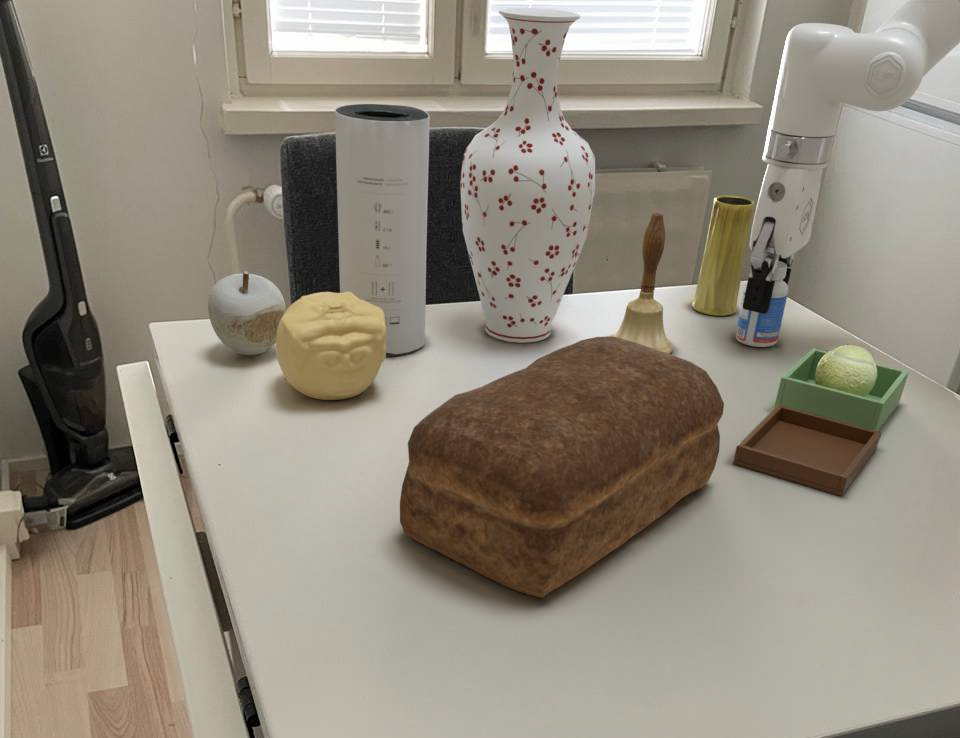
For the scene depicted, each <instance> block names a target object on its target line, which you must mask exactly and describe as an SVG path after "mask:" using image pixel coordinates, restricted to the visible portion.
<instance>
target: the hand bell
mask: <svg viewBox="0 0 960 738" xmlns="http://www.w3.org/2000/svg"><path fill="white" fill-rule="evenodd" d="M665 228H666V227H665V220H664V213H663V212H658V211H657V212H652V213H651V216H650V219H649V221H648V224H647V225H646V228H645V231H644V234H643V238H642V239H643V240H642V245H641V247H642V249H641V250H642V253H641V255H642V261H643V273H642V276H641V277H642V278H641V284H640V287H639V290H640V291H639V296H638V297H637V298H635V299H632V300H629V302H628V303H627V305H626V309H625V312H624V316H623V319H622V322H621V324H620V325H619V327H618V329H617V330H616V332H615V333H614V334H612V335H611V336H614V337H617V338H621V339H624V340H628V341H631V342H635V343H638V344H641V345H644V346H647V347H650V348H653V349H655V350H658V351H661V352H665V353H668V354H672V353H673V351H674V346H673V344H672V341H671V340H670V339H669V338H668V336H667V333H666V331H665V326H664V306H663V304H662V303H661V302H659V301H658V300H656V299H655V298H654V295H655V289H656V286H655V285H656V277H657V271H658V266H659V264H660V261H661V259H662V256H663V253H664V250H665V243H666V229H665Z"/></svg>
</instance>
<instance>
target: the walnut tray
mask: <svg viewBox="0 0 960 738" xmlns="http://www.w3.org/2000/svg"><path fill="white" fill-rule="evenodd" d="M774 407H775V406H774ZM774 407H773V409H772V410H771V411H770V412H769V414H768V415H766V416H765V417H764V418H763V419H762V420H761V421H760V422H759V423H758V424H757V425H756V426H755V427H754V428H753V429H752V430H751V431H750V432H749V433H748V434H747V435H746V436H745V437H744V438H743V439H742V440H741V441H740V442H739V443H738V444H737V445H736V448H735V453H734V456H733V461H732V464H733V465H737V466H739V467H743V468H747V469H750V470H753V471H757V472H760V473H764V474H767V475H769V476H773V477H777V478H779V479H783V480H786V481H790V482H794V483H796V484H800V485H803V486H807V487H810V488H813V489H816V490H820V491H823V492H826V493H830V494H833V495H837V496H840V497H843V496H844V494H845V493H846V491H847V490H848V489H849V487H850V486H851V484H852V483H853V482H854V480H855V479H856V478H857V476H858V475H859V473H860V472H861V471H862V469H863V468H864V467H865V465H866V464H867V462H868V461H869V460H870V459H871V457H872V456H873V454H874V453H875V452H876V450H877V448H878V445H879V442H880V440H881V436H882V431H880V430H879V431H875V430H872V429H868V428H864V427H861V426H857V425H853V424H849V423H846V422H842V421H838V420H835V419H831V418H827V417H823V416H820V415H816V414H812V413H809V412H805V411H801V410H797V409H794V408H790V407H786V406H783V405H777V406H776V407H775V408H774Z"/></svg>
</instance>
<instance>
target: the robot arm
mask: <svg viewBox="0 0 960 738" xmlns="http://www.w3.org/2000/svg"><path fill="white" fill-rule="evenodd" d="M784 43H785V44H784V48H783V53H782V57H781V63H780V68H779V73H778V78H777V83H776V88H775V92H774V99H773V103H772V107H771V113H770V117H769V123H768V128H767V132H766V138H765V144H764V148H763V153H762V157H761V159H762V161H763V162H765V163H767V165H766V170H765V173H764V176H763V181H762V183H761V188H760V192H759V196H758V199H757V204H756V208H755V212H754V216H753V221H752V224H751V225H752V226H751V230H750V237H749V249H750V250H751V254H750V268H749V271H748V278H747V281H748V283H747V287H746V292H745V297H744V302H743V308H744V309H745V310H750V311H754V312H758V313H763V314H765V313H767V312H768V310H769V306H770V302H771V297H772V293H773V288H774V284H775V281H773V280H772V279H773V276H774V273H775V270H776V266H777V263H778V261H781V262H784V263H786V264H787V271H786V275H785V278H784V279H783V281H784V282H785V283H786V284H787V285H788V286H789V282H790V278H791V274H792V273H791V272H792V267H793V265H794V261H795V254H796V253H797V252H798V251H800V250H801V249H802V248H804V247H806V246H807V244H808V243H809V241H810V239H811V236H812V230H813V226H814V220H815V215H816V210H817V206H818V200H819V194H820V189H821V184H822V183H821V182H822V178H823V177H822V175H823V169H825V168H827V167H828V166H829V161H830V157H831V152H832V148H833V144H834V140H835V136H836V131H837V127H838V124H839V123H838V122H839V120H840V115H841V110H842V107H843V104H846V105H848V106H853V107H856V108H860V109H863V110H867V111H872V112H887V111H892V110H894V109H897V108H899V107H901V106H902V105H904V104H905V103H906V102H907V101H909V100H910V99H911V98H912V97H913V96H914V95H915V94H916V91H917V90H918V88H919V87H920V86H921V85H920V84H921V83H922V80H923V78H924V77H925V76H926V75H927V74H928V73H929V72H930V71H931V70H932V69H933V68H935V66H936V65H938V63H939V62H940V61H942V60H943V59H944V58H945V57H946V56H947V55H948V54H949V53H950V52H952V50H954V49H955V48H956V47H957V46H958V45H959V44H960V0H905V1H904V3H903V4H901V5H900V6H899V7H898V8H897V9H896V10H895V11H894V12H893V13H892V14H891V15H890V16H889V17H888V18H887V19H886V20H885V21H884V22H883V23H882V24H881V25H880V26H879V27H878V28H877V29H876V30H875V31H874V32H855V31H854V30H853V29H852V28H851V27H847V26H845V25H842V24H841V25H840V24H833V23H822V22H804V23H799V24H796V25H795V26H793V27H792V28H791V29H790V31H788V34H787V36H786V39H785V42H784ZM769 248H770V252H769V251H768V249H769ZM765 259H770V260H771V263H770V266H769V264H768V261H765Z"/></svg>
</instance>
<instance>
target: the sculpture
mask: <svg viewBox="0 0 960 738" xmlns="http://www.w3.org/2000/svg"><path fill="white" fill-rule="evenodd" d="M385 344H386V325H385V316H384V312H383V310H382V309H381V308H380V307H377V306H375V305H373V304H370V303H368V302H366V301H364V300H361V299H359V298H358V297H356V296H355V295H354V294H353V293H352V292H349V291H347V292H344V293H340V292H334V291H333V292H332V291H320V292H314V293H310V294H307V295H302V296H300V298H299V299H297V300H296V301H294V302H293V303H291V305H289V306H288V308H287V309H285V313H284V314H283V316H282V318H281V320H280V322H279V325H278V329H277V334H276V343H275V353H276V357H277V362H278V365H279V368H280V371H281V372H282V374H283V376H284V377H285V379H286V380H287V382H288V384H290V386H291V387H292V388H294V390H296V391H298V392H299V393H301V394H303V395H305V396H307V397H309V398H311V399H316V400H322V401H323V400H324V401H337V400H345V399H349V398H353V397H354V398H355V397H356V396H359V395H360V394H362V393H363V392H365V391H366V390H367V389H368V388H369V387H370V386H371V385H372V383H373V382H374V381H375V380H376V377H377V375H378V373H379V371H380V369H381V366H382V363H384V362H385V360H386V358H387V356H386V347H385Z"/></svg>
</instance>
